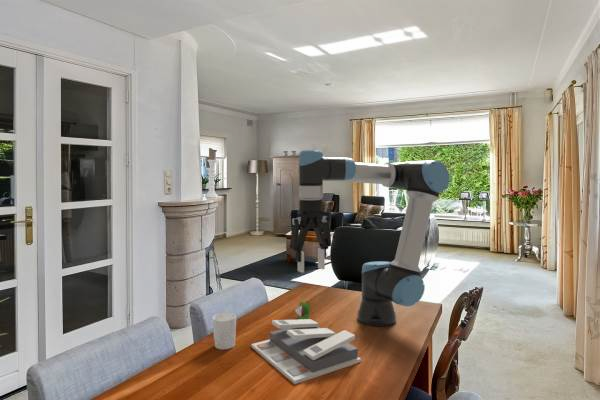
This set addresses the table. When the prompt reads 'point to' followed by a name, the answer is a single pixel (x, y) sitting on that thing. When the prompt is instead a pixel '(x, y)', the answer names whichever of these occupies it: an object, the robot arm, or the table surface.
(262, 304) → the table surface
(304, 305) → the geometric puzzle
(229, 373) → the table surface
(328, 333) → the bar
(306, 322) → the rocker
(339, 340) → the rocker
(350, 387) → the table surface
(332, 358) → the switch unit
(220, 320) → the white cup
